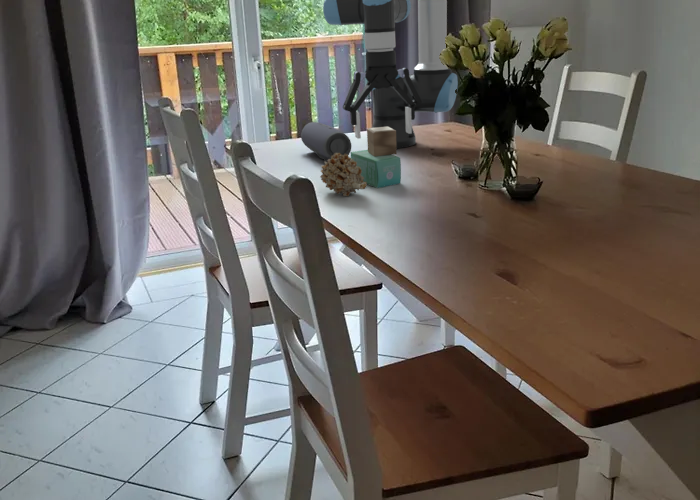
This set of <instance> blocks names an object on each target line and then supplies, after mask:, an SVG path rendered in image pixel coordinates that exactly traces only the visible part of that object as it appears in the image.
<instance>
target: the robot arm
mask: <svg viewBox="0 0 700 500" xmlns="http://www.w3.org/2000/svg"><path fill="white" fill-rule="evenodd" d="M322 5H323V8H322V10H323V16H324V20H325V21H326V23H327V24H328V25H329V26H333V25H334V26H349V25H350V26H351V25H364V42H365V43H364V44H365V46H364V47H365V50H367V51H366V52H365V68H366V69H365V72H360V71H356V70H355V71H354V72H353V80H352V83H351V86H350V88H349V90H348V92H347V96H346V97H345V100H344V103H343V105H342V109H343V110H344V111H346V112H349V113H350V116H349V117H350V123H351V126H354V135H355V138H357V139H358V140H359V139H361V138H362V137H361V120H360V119H361V117H360V115H361V114H360V112H359V111H358V110H359V109H360V107H361V106H362V104H363V103H364V102H365V100H366V98H367V97H368V95H370V93H372V111H373V123H372V127H371V128H377V127H387V126H388V127H390V128H392V129H394V130H396V148H397V149H400V148H401V149H402V148H408V147H411V146H414V145H416V143H417V141H416V139H417V138H416V134H415V130H414V128H413V126H412V121H414V120H415V118H416V113H435V114H437V113H447V112H449V111H450V110H451V109H452V108H453V106H454V105H455V102H456V98H457V94H456V93H455V90H456V89H457V90H458V86H459V85H458V84H459V82H458V81H459V80H458V75H457V74H456V73H454V72H453V71H452V70H453V69H452V70H451V69H448V68H447V67H446V66H445V65H443V64H442V63H441V61H440V59H439V55H440V53H441V51H442V50H443V49H445V48H446V44H445V37H446V36H447V37H448V35H447V33H448V32H447V29H448V25H447V24H448V23H447V22H448V19H447V17H448V16H447V15H448V13H447V10H448V9H447V8H448V6H447V5H448V1H447V0H417V22H418V23H417V24H418V26H417V27H418V29H417V31H418V34H417V35H418V40H417V41H418V47H417V48H418V63H417V65H415V66H414V68H413V74H411V73H410V71H409V70H410V69H408V68H407V67H402V68H399V69H398V68H397V55H396V54H397V53H396V50H394V49H395V48H396V28H395V27H396V24H398V23H400V22H402V21H404V20H406V19H407V18H408V16H410V13H411V9H412V4H411V0H324V1H323V4H322ZM364 78H365V79H366V80H367V83H366V84H365V85H364V87H363V89H362V90H361V91H360V93H359V95H358V96H357V98H356V99H355V100H354V98H355V97H356V94H357V91H358V89H359V86H360V84H361V82H362V81H363V80H364ZM353 101H354V102H353Z"/></svg>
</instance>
